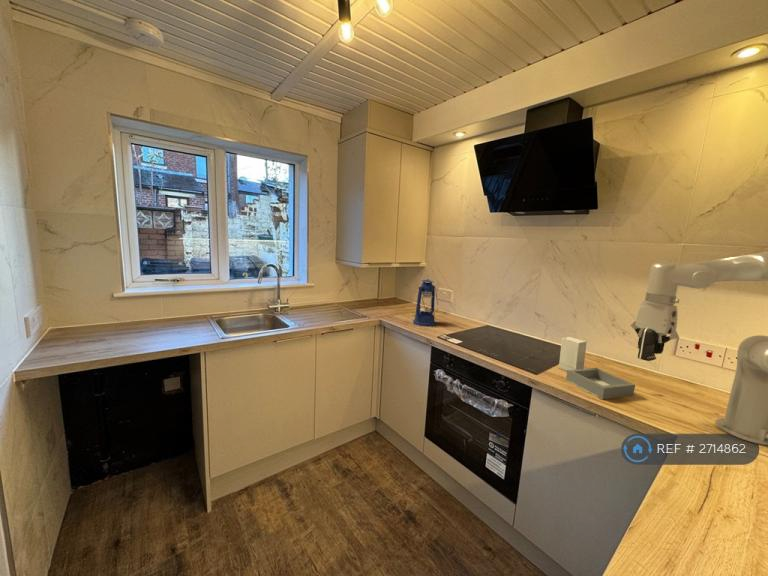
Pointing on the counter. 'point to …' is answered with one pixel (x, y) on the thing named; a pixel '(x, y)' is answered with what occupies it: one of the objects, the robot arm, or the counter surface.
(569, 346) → the skincare box
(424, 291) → the lantern
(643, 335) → the dark piece
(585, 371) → the bin
